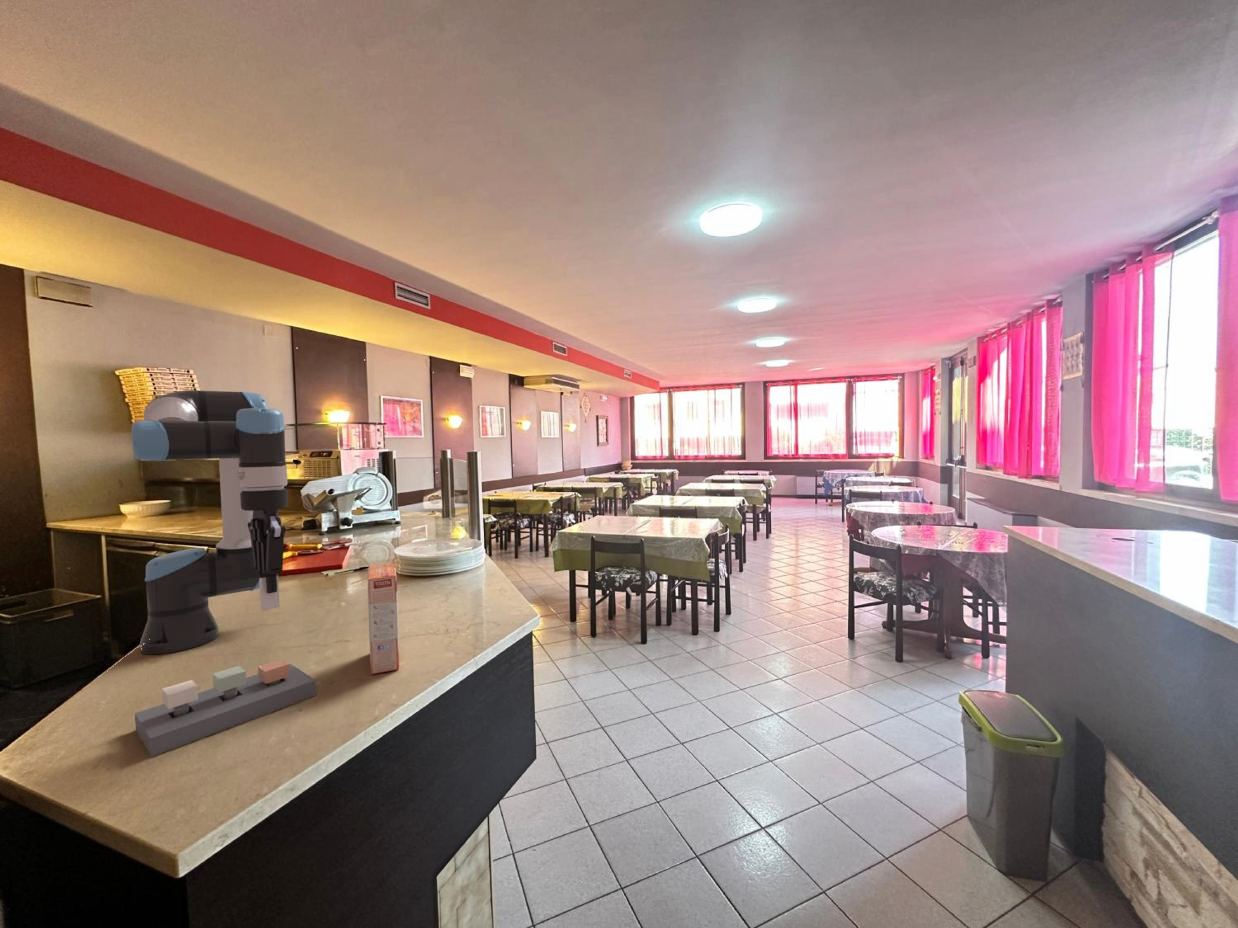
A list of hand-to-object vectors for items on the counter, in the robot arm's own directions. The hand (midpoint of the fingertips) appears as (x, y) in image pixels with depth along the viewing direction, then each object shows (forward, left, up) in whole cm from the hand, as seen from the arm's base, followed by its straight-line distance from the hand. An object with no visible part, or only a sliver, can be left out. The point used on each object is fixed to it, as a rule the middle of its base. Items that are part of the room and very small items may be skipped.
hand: (270, 608), depth 98 cm
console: (0, -7, -18) cm, 19 cm away
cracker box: (+2, +21, -18) cm, 28 cm away
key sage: (0, -7, -15) cm, 17 cm away
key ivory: (0, -14, -15) cm, 21 cm away
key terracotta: (0, 0, -17) cm, 17 cm away
